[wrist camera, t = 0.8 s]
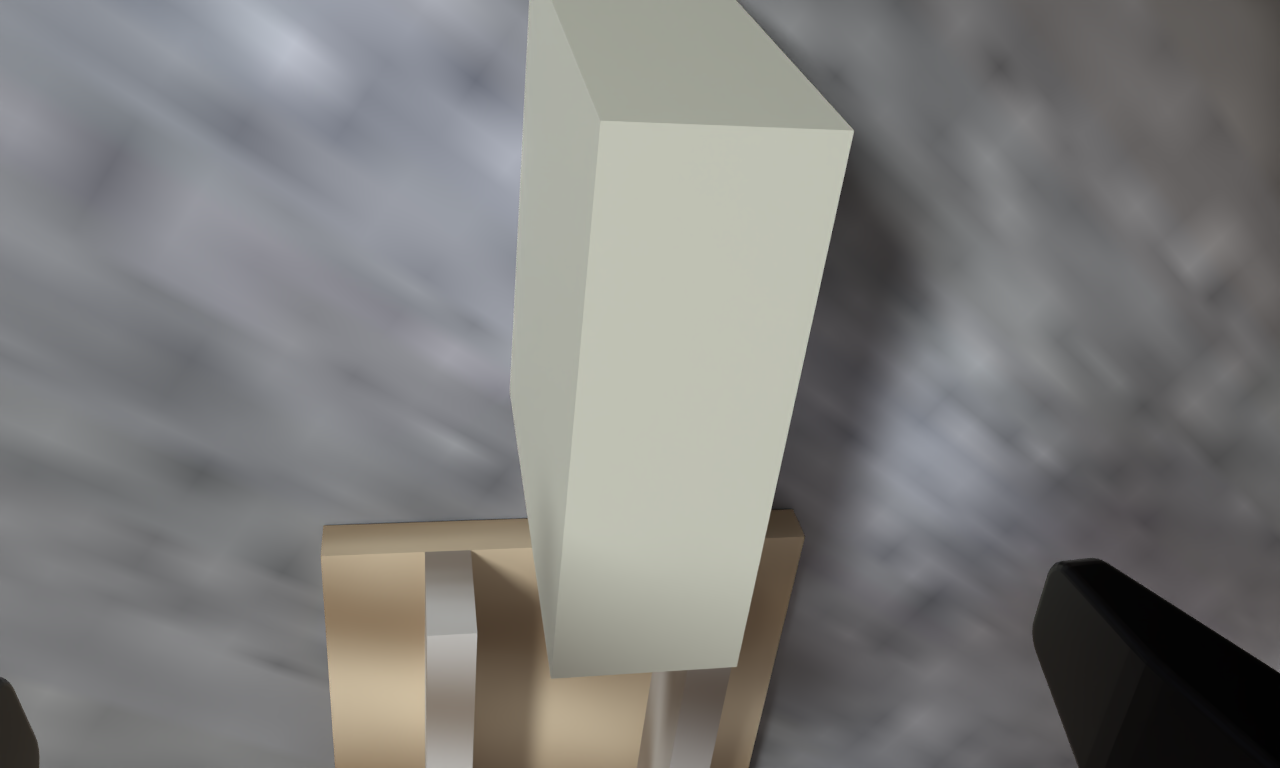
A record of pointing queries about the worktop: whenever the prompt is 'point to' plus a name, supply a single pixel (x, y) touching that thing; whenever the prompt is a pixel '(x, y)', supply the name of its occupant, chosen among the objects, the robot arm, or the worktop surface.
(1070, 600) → the robot arm
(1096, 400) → the worktop surface
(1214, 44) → the worktop surface
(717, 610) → the door panel
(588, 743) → the track base
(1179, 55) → the worktop surface
